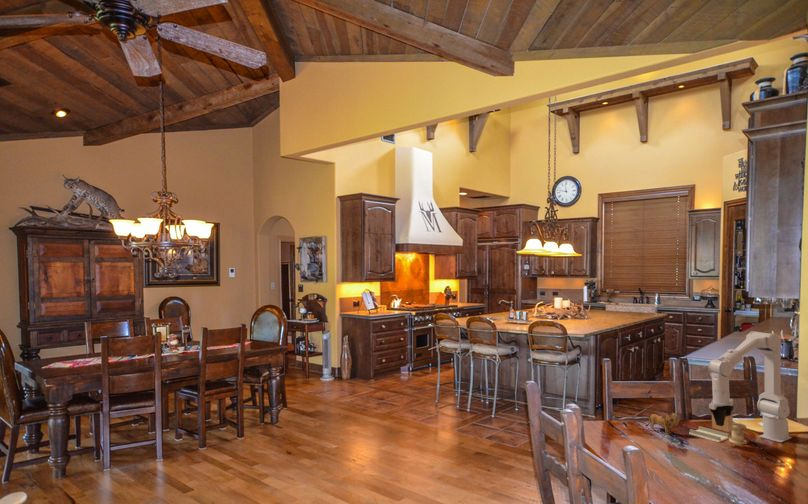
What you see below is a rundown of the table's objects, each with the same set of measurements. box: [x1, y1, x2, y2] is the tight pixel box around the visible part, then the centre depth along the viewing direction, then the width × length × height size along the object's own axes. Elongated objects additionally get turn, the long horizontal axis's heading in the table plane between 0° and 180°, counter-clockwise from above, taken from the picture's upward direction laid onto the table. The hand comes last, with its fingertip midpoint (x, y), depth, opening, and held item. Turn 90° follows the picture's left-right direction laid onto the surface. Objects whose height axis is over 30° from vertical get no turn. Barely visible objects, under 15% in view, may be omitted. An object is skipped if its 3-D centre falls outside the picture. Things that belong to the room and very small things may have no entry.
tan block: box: [711, 413, 734, 433], centre depth 195 cm, size 4×6×6 cm, turn 31°
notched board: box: [688, 425, 731, 443], centre depth 206 cm, size 9×12×2 cm
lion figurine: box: [644, 412, 680, 436], centre depth 213 cm, size 15×5×9 cm, turn 38°
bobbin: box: [728, 421, 748, 446], centre depth 198 cm, size 6×6×7 cm
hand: (722, 424), depth 195 cm, fingers closed on tan block, 3 cm apart
